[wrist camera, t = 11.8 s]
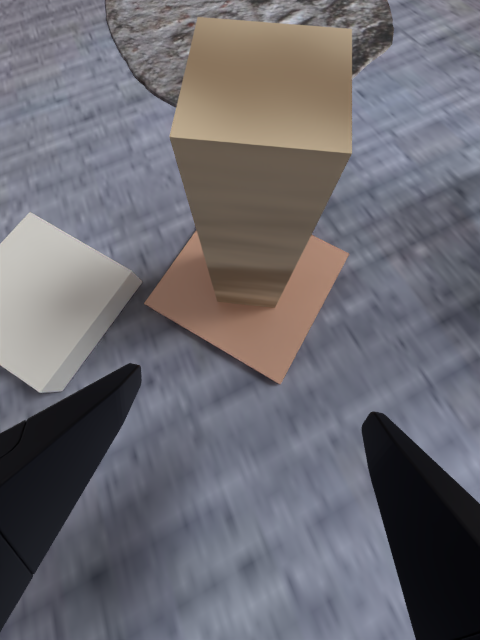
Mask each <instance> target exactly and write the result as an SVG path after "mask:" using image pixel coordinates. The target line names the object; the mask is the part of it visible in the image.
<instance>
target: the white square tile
mask: <svg viewBox="0 0 480 640" xmlns="http://www.w3.org/2000/svg"><path fill="white" fill-rule="evenodd" d="M141 284H142V281H141V280H140V279H139V278H138V277H137V276H136V275H135V274H134V273H133V272H132V271H131V270H129V269H127V268H126V267H124V266H122V265H121V264H119V263H117V262H115V261H114V260H112V259H110V258H108V257H107V256H105V255H103V254H102V253H100V252H98V251H96V250H95V249H93V248H91V247H89V246H88V245H86V244H84V243H83V242H81V241H79V240H77V239H76V238H74V237H72V236H70V235H69V234H67V233H65V232H64V231H62V230H60V229H58V228H57V227H55V226H53V225H51V224H50V223H48V222H46V221H44V220H43V219H41V218H39V217H38V216H36V215H34V214H32V213H31V212H29V214H28V215H27V216H26V217H25V218H24V219H23V220H22V221H21V222H20V223H19V224H18V225H17V226H16V228H15V229H14V230H13V231H12V232H11V233H10V234H9V235H8V236H7V237H6V238H5V239H4V241H3V242H2V243H1V244H0V365H1V366H2V367H4V368H5V369H7V370H8V371H9V372H11V373H12V374H14V375H15V376H17V377H18V378H20V379H21V380H22V381H24V382H25V383H27V384H28V385H30V386H31V387H32V388H34V389H35V390H37V391H38V392H40V393H45V392H59V391H63V390H64V388H65V387H66V386H67V384H68V383H69V381H70V380H71V379H72V377H73V376H74V375H75V373H76V372H77V371H78V369H79V368H80V367H81V365H82V364H83V362H84V361H85V360H86V358H87V357H88V356H89V354H90V353H91V352H92V350H93V349H94V347H95V346H96V345H97V343H98V342H99V341H100V339H101V338H102V337H103V335H104V334H105V333H106V331H107V330H108V328H109V327H110V326H111V324H112V323H113V322H114V320H115V319H116V318H117V316H118V315H119V313H120V312H121V311H122V309H123V308H124V307H125V305H126V304H127V303H128V301H129V300H130V298H131V297H132V296H133V294H134V293H135V292H136V290H137V289H138V288H139V286H140V285H141Z"/></svg>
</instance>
